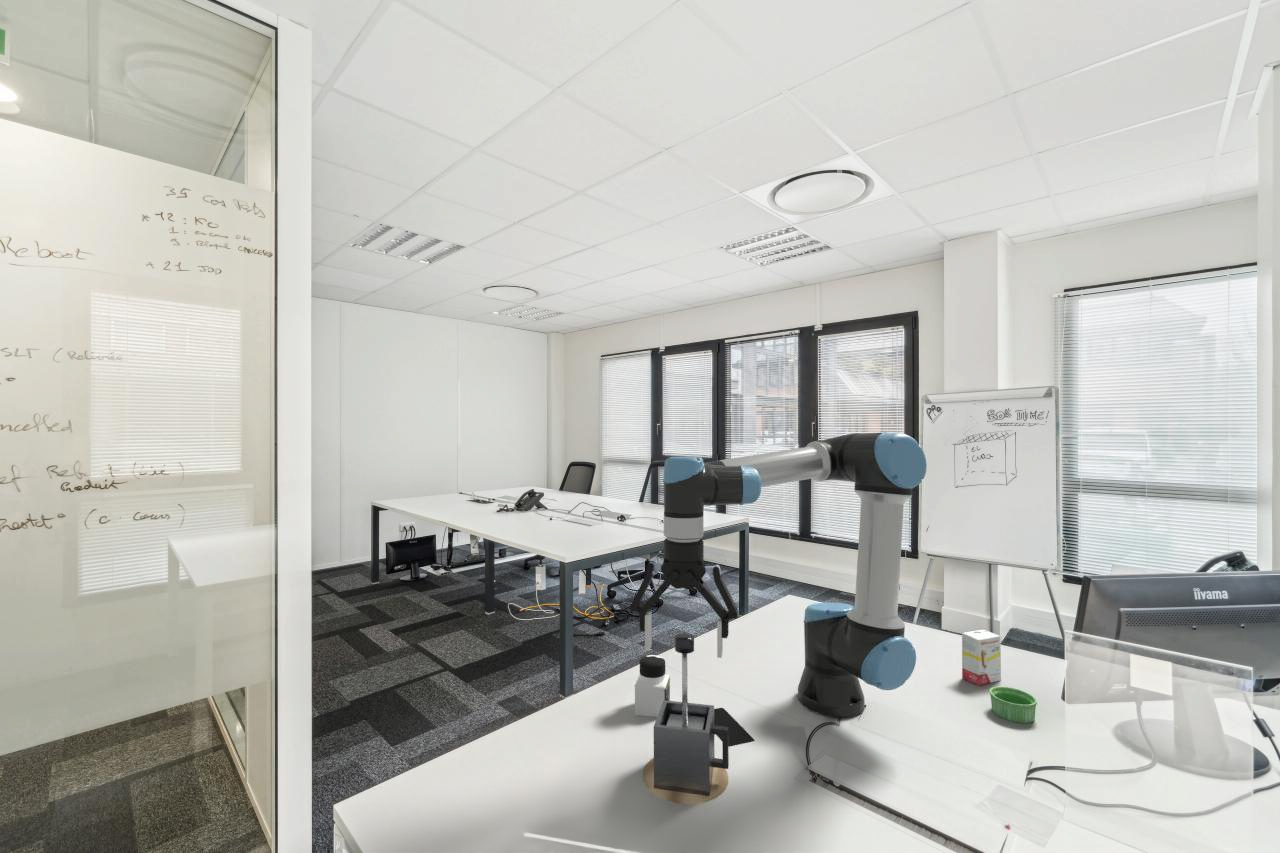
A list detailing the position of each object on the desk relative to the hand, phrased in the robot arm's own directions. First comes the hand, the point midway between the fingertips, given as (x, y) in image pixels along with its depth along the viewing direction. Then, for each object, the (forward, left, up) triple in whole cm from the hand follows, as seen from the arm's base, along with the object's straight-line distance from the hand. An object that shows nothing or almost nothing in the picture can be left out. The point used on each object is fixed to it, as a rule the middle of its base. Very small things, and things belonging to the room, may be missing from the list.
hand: (683, 651), depth 101 cm
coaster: (0, 0, -23) cm, 23 cm away
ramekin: (-70, -39, -24) cm, 84 cm away
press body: (-2, 0, -23) cm, 23 cm away
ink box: (-70, -57, -24) cm, 94 cm away
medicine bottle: (+11, -23, -24) cm, 35 cm away
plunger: (0, 0, -14) cm, 14 cm away
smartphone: (-6, -19, -24) cm, 31 cm away
